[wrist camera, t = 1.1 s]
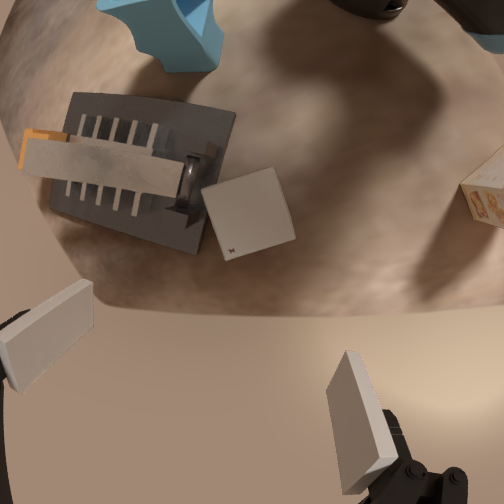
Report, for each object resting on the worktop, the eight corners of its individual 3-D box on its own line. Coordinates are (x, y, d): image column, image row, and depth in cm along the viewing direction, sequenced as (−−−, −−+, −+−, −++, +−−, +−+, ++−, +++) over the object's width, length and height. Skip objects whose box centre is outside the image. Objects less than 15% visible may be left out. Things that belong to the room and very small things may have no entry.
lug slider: (59, 132, 36) (25, 128, 28) (84, 135, 36) (49, 130, 28) (52, 167, 38) (18, 169, 30) (76, 172, 38) (41, 174, 29)
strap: (33, 129, 22) (28, 128, 21) (198, 157, 32) (202, 158, 30) (23, 181, 24) (19, 184, 22) (186, 206, 33) (188, 209, 32)
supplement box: (291, 221, 39) (298, 242, 26) (239, 237, 40) (222, 263, 28) (275, 169, 37) (275, 164, 25) (222, 185, 38) (197, 189, 26)
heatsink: (78, 93, 36) (46, 84, 28) (236, 114, 36) (225, 98, 27) (54, 206, 41) (21, 214, 33) (198, 253, 41) (180, 271, 33)
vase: (217, 72, 34) (170, -3, 15) (165, 73, 34) (91, 14, 15) (225, 28, 32) (189, -57, 13) (174, 30, 32) (115, -41, 13)
